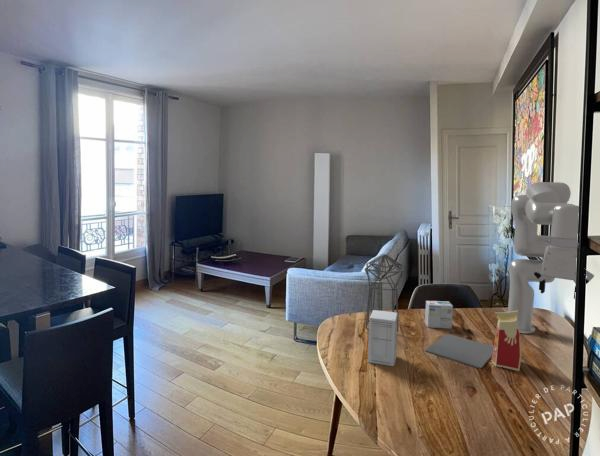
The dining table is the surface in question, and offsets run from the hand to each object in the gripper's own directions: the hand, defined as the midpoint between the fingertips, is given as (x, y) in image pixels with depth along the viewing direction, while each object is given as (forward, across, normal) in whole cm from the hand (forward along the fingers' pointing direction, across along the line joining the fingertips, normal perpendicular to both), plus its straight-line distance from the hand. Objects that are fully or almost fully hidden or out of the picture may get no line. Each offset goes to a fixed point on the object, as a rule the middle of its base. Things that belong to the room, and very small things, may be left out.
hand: (558, 295), depth 123 cm
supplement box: (+29, -48, -28) cm, 62 cm away
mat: (+28, -29, 0) cm, 40 cm away
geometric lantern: (+28, -59, -9) cm, 66 cm away
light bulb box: (+28, -46, +19) cm, 57 cm away
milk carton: (+29, -14, 0) cm, 32 cm away
